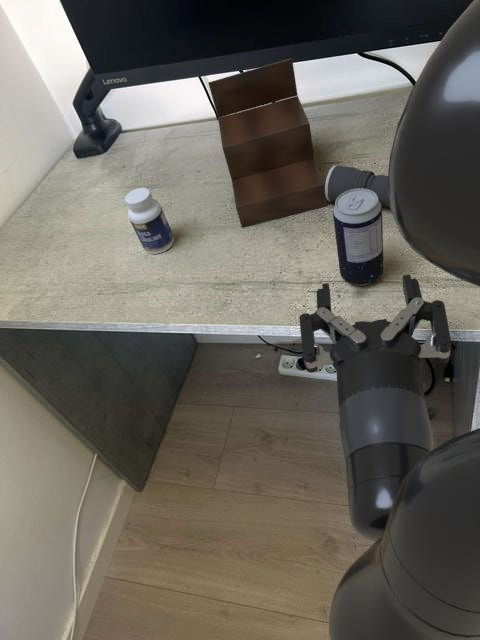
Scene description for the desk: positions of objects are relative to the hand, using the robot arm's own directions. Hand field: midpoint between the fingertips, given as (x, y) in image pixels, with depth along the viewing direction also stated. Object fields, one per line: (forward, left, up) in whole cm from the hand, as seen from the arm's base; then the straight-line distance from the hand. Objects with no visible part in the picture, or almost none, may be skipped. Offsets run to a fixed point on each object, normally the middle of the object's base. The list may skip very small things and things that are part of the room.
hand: (365, 284), depth 54 cm
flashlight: (-8, -23, -8) cm, 26 cm away
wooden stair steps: (+6, -36, -8) cm, 37 cm away
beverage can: (-2, -10, -8) cm, 13 cm away
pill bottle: (+27, -28, -8) cm, 40 cm away
